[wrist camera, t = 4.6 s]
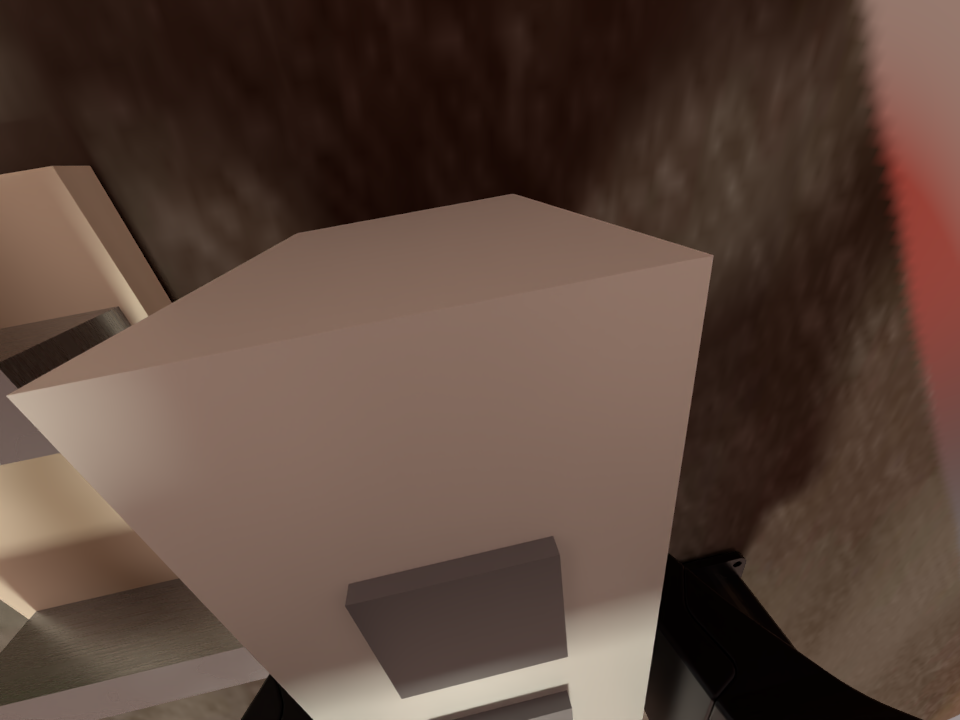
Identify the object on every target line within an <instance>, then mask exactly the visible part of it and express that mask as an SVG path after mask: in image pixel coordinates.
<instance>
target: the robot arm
mask: <svg viewBox="0 0 960 720" xmlns="http://www.w3.org/2000/svg"><path fill="white" fill-rule="evenodd" d="M745 564H746V559H745V558H744V557H743V556H742V554H741V553H740V552H738V551H735V552H730V553H726V554H722V555H718V556H714V557H710V558H706V559H702V560H698V561H694V562H690V563H686V564H681V563H680V562H679V561H678V560H676V559H675V558H674V557H673V556H672V555H670V554H669V553H668V556H667V562H666V569H665V575H664V582H663V588H662V595H661V601H660V608H659V614H658V621H657V627H656V634H655V640H654V647H653V653H652V660H651V666H650V673H649V679H648V686H647V692H646V699H645V705H644V710H645V712H646V714H647V716H648V718H649V720H922V719H920V718H917V717H915V716H912V715H910V714H907V713H905V712H902V711H900V710H897V709H895V708H892V707H890V706H888V705H885V704H883V703H881V702H879V701H877V700H875V699H872V698H870V697H868V696H866V695H865V694H863V693H861V692H859V691H857V690H855V689H854V688H852V687H850V686H849V685H847V684H845V683H844V682H842V681H840V680H839V679H837V678H836V677H834V676H833V675H831V674H830V673H828V672H827V671H825V670H824V669H823V668H821V667H820V666H818V665H817V664H816V663H814V662H813V661H811V660H810V659H808V658H807V657H806V656H804V655H803V654H801V653H800V652H798V651H797V650H796V648H795V647H794V646H793V645H792V643H791V642H790V641H789V639H788V638H787V637H786V636H785V634H784V633H783V632H782V630H781V629H780V628H779V627H778V625H777V624H776V623H775V621H774V620H773V619H772V617H771V616H770V615H769V614H768V612H767V611H766V610H765V608H764V607H763V606H762V605H761V603H760V602H759V601H758V599H757V598H756V597H755V596H754V594H753V593H752V592H751V590H750V589H749V588H748V587H747V585H746V584H745V583H744V581H743V580H742V579H741V576H742V573H743V570H744V567H745ZM241 720H313V719H312V718H311V717H310V716H309V715H308V714H307V712H306V711H305V710H304V709H303V708H302V707H301V706H300V705H299V704H298V703H297V702H296V701H295V700H294V699H293V698H292V697H291V696H290V695H289V694H288V692H287V691H286V690H285V689H284V688H283V687H282V686H281V685H280V684H279V683H278V682H277V681H276V680H275V679H274V678H273V677H272V676H271V675H270V674H269V675H268V677H267V679H266V680H265V682H264V684H263V685H262V687H261V688H260V690H259V692H258V693H257V695H256V696H255V698H254V700H253V701H252V703H251V704H250V706H249V707H248V709H247V711H246V712H245V714H244V715H243V717H242V718H241Z"/></svg>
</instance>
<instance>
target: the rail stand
mask: <svg viewBox="0 0 960 720" xmlns="http://www.w3.org/2000/svg"><path fill="white" fill-rule="evenodd" d="M171 303H172V302H171V301H170V299H169V297H168V296H167V294H166V292H165V291H164V289H163V287H162V286H161V284H160V282H159V281H158V279H157V277H156V276H155V274H154V272H153V271H152V269H151V267H150V265H149V264H148V262H147V260H146V259H145V257H144V255H143V254H142V252H141V250H140V249H139V247H138V245H137V244H136V242H135V240H134V239H133V237H132V235H131V234H130V232H129V230H128V229H127V227H126V225H125V224H124V222H123V220H122V218H121V217H120V215H119V213H118V212H117V210H116V208H115V207H114V205H113V203H112V202H111V200H110V198H109V197H108V195H107V193H106V192H105V190H104V188H103V187H102V185H101V183H100V182H99V180H98V178H97V177H96V175H95V173H94V171H93V170H92V168H91V166H48V167H42V168H37V169H31V170H25V171H19V172H13V173H7V174H1V175H0V599H1V600H2V601H3V602H5V603H6V604H8V605H9V606H11V607H12V608H13V609H15V610H16V611H18V612H19V613H21V614H22V615H23V616H25V617H26V618H28V619H29V620H28V621H27V623H26V624H25V625H24V626H23V627H22V628H21V630H20V631H19V632H18V633H17V634H16V635H15V637H14V638H13V639H12V640H11V641H10V642H9V644H8V645H7V646H6V647H5V648H4V649H3V651H2V652H1V653H0V720H98V719H102V718H106V717H110V716H114V715H118V714H122V713H126V712H130V711H134V710H138V709H142V708H146V707H150V706H154V705H158V704H162V703H166V702H170V701H175V700H179V699H183V698H187V697H191V696H195V695H199V694H203V693H207V692H211V691H215V690H219V689H223V688H227V687H231V686H235V685H239V684H243V683H247V682H251V681H255V680H259V679H264V678H267V677H268V675H269V674H270V673H269V672H268V671H267V670H266V669H265V668H264V667H263V666H262V665H261V664H260V663H259V662H258V661H257V660H256V659H255V658H254V657H253V656H252V655H251V653H250V652H249V651H248V650H247V649H246V648H245V647H244V646H243V645H242V644H241V643H240V642H239V641H238V640H237V639H236V638H235V637H234V636H233V634H232V633H231V632H230V631H229V630H228V629H227V628H226V627H225V626H224V625H223V624H222V623H221V622H220V621H219V620H218V619H217V618H216V617H215V616H214V614H213V613H212V612H211V611H210V610H209V609H208V608H207V607H206V606H205V605H204V604H203V603H202V602H201V601H200V600H199V599H198V598H197V597H196V595H195V594H194V593H193V592H192V591H191V590H190V589H189V588H188V587H187V586H186V585H185V584H184V583H183V582H182V581H181V580H180V579H179V578H178V577H177V575H176V574H175V573H174V572H173V571H172V570H171V569H170V568H169V567H168V566H167V565H166V564H165V563H164V562H163V561H162V560H161V559H160V558H159V556H158V555H157V554H156V553H155V552H154V551H153V550H152V549H151V548H150V547H149V546H148V545H147V544H146V543H145V542H144V541H143V540H142V539H141V538H140V536H139V535H138V534H137V533H136V532H135V531H134V530H133V529H132V528H131V527H130V526H129V525H128V524H127V523H126V522H125V521H124V520H123V519H122V517H121V516H120V515H119V514H118V513H117V512H116V511H115V510H114V509H113V508H112V507H111V506H110V505H109V504H108V503H107V502H106V501H105V500H104V499H103V497H102V496H101V495H100V494H99V493H98V492H97V491H96V490H95V489H94V488H93V487H92V486H91V485H90V484H89V483H88V482H87V481H86V480H85V478H84V477H83V476H82V475H81V474H80V473H79V472H78V471H77V470H76V469H75V468H74V467H73V466H72V465H71V464H70V463H69V462H68V461H67V460H66V458H65V457H64V456H63V455H62V454H61V453H60V452H59V451H58V450H57V449H56V448H55V447H54V446H53V445H52V444H51V443H50V442H49V441H48V439H47V438H46V437H45V436H44V435H43V434H42V433H41V432H40V431H39V430H38V429H37V428H36V427H35V426H34V425H33V424H32V423H31V422H30V420H29V419H28V418H27V417H26V416H25V415H24V414H23V413H22V412H21V411H20V410H19V409H18V408H17V407H16V406H15V405H14V404H13V403H12V402H11V400H10V399H9V398H8V397H7V396H6V395H8V394H10V393H12V392H14V391H15V390H17V389H19V388H21V387H23V386H24V385H26V384H28V383H30V382H32V381H33V380H35V379H37V378H39V377H41V376H42V375H44V374H46V373H48V372H49V371H51V370H53V369H55V368H57V367H58V366H60V365H62V364H64V363H66V362H67V361H69V360H71V359H73V358H75V357H76V356H78V355H80V354H82V353H84V352H85V351H87V350H89V349H91V348H92V347H94V346H96V345H98V344H100V343H101V342H103V341H105V340H107V339H109V338H110V337H112V336H114V335H116V334H118V333H119V332H121V331H123V330H125V329H127V328H128V327H130V326H132V325H134V324H135V323H137V322H139V321H141V320H143V319H144V318H146V317H148V316H150V315H152V314H153V313H155V312H157V311H159V310H161V309H162V308H164V307H166V306H168V305H170V304H171Z"/></svg>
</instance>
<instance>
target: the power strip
mask: <svg viewBox="0 0 960 720" xmlns="http://www.w3.org/2000/svg"><path fill="white" fill-rule="evenodd" d="M713 256H714V255H711V254H708V253H705V252H701V251H698V250H695V249H692V248H688V247H685V246H682V245H679V244H675V243H672V242H669V241H666V240H662V239H659V238H656V237H653V236H649V235H646V234H643V233H640V232H636V231H633V230H630V229H627V228H623V227H620V226H617V225H614V224H610V223H607V222H604V221H601V220H597V219H594V218H591V217H588V216H584V215H581V214H578V213H575V212H571V211H568V210H565V209H562V208H558V207H555V206H552V205H549V204H545V203H542V202H539V201H536V200H532V199H529V198H526V197H523V196H519V195H516V194H508V195H503V196H497V197H492V198H487V199H481V200H476V201H470V202H465V203H459V204H454V205H448V206H443V207H438V208H432V209H427V210H421V211H416V212H410V213H405V214H399V215H394V216H389V217H383V218H378V219H372V220H367V221H361V222H356V223H350V224H345V225H340V226H334V227H329V228H323V229H318V230H312V231H307V232H301V233H297V234H295V235H293V236H291V237H290V238H288V239H286V240H284V241H282V242H281V243H279V244H277V245H275V246H273V247H272V248H270V249H268V250H266V251H264V252H263V253H261V254H259V255H257V256H256V257H254V258H252V259H250V260H248V261H247V262H245V263H243V264H241V265H239V266H238V267H236V268H234V269H232V270H230V271H229V272H227V273H225V274H223V275H221V276H220V277H218V278H216V279H214V280H213V281H211V282H209V283H207V284H205V285H204V286H202V287H200V288H198V289H196V290H195V291H193V292H191V293H189V294H187V295H186V296H184V297H182V298H180V299H178V300H177V301H175V302H173V303H171V304H170V305H168V306H166V307H164V308H162V309H161V310H159V311H157V312H155V313H153V314H152V315H150V316H148V317H146V318H144V319H143V320H141V321H139V322H137V323H135V324H134V325H132V326H130V327H128V328H127V329H125V330H123V331H121V332H119V333H118V334H116V335H114V336H112V337H110V338H109V339H107V340H105V341H103V342H101V343H100V344H98V345H96V346H94V347H92V348H91V349H89V350H87V351H85V352H84V353H82V354H80V355H78V356H76V357H75V358H73V359H71V360H69V361H67V362H66V363H64V364H62V365H60V366H58V367H57V368H55V369H53V370H51V371H49V372H48V373H46V374H44V375H42V376H41V377H39V378H37V379H35V380H33V381H32V382H30V383H28V384H26V385H24V386H23V387H21V388H19V389H17V390H15V391H14V392H12V393H10V394H8V395H6V396H7V397H8V398H9V399H10V400H11V402H12V403H13V404H14V405H15V406H16V407H17V408H18V409H19V410H20V411H21V412H22V413H23V414H24V415H25V416H26V417H27V418H28V419H29V420H30V422H31V423H32V424H33V425H34V426H35V427H36V428H37V429H38V430H39V431H40V432H41V433H42V434H43V435H44V436H45V437H46V438H47V439H48V441H49V442H50V443H51V444H52V445H53V446H54V447H55V448H56V449H57V450H58V451H59V452H60V453H61V454H62V455H63V456H64V457H65V458H66V460H67V461H68V462H69V463H70V464H71V465H72V466H73V467H74V468H75V469H76V470H77V471H78V472H79V473H80V474H81V475H82V476H83V477H84V478H85V480H86V481H87V482H88V483H89V484H90V485H91V486H92V487H93V488H94V489H95V490H96V491H97V492H98V493H99V494H100V495H101V496H102V497H103V499H104V500H105V501H106V502H107V503H108V504H109V505H110V506H111V507H112V508H113V509H114V510H115V511H116V512H117V513H118V514H119V515H120V516H121V517H122V519H123V520H124V521H125V522H126V523H127V524H128V525H129V526H130V527H131V528H132V529H133V530H134V531H135V532H136V533H137V534H138V535H139V536H140V538H141V539H142V540H143V541H144V542H145V543H146V544H147V545H148V546H149V547H150V548H151V549H152V550H153V551H154V552H155V553H156V554H157V555H158V556H159V558H160V559H161V560H162V561H163V562H164V563H165V564H166V565H167V566H168V567H169V568H170V569H171V570H172V571H173V572H174V573H175V574H176V575H177V577H178V578H179V579H180V580H181V581H182V582H183V583H184V584H185V585H186V586H187V587H188V588H189V589H190V590H191V591H192V592H193V593H194V594H195V595H196V597H197V598H198V599H199V600H200V601H201V602H202V603H203V604H204V605H205V606H206V607H207V608H208V609H209V610H210V611H211V612H212V613H213V614H214V616H215V617H216V618H217V619H218V620H219V621H220V622H221V623H222V624H223V625H224V626H225V627H226V628H227V629H228V630H229V631H230V632H231V633H232V634H233V636H234V637H235V638H236V639H237V640H238V641H239V642H240V643H241V644H242V645H243V646H244V647H245V648H246V649H247V650H248V651H249V652H250V653H251V655H252V656H253V657H254V658H255V659H256V660H257V661H258V662H259V663H260V664H261V665H262V666H263V667H264V668H265V669H266V670H267V671H268V672H269V673H270V675H271V676H272V677H273V678H274V679H275V680H276V681H277V682H278V683H279V684H280V685H281V686H282V687H283V688H284V689H285V690H286V691H287V692H288V694H289V695H290V696H291V697H292V698H293V699H294V700H295V701H296V702H297V703H298V704H299V705H300V706H301V707H302V708H303V709H304V710H305V711H306V712H307V714H308V715H309V716H310V717H311V718H312V719H313V720H642V718H643V712H644V705H645V699H646V692H647V686H648V679H649V673H650V666H651V660H652V653H653V647H654V640H655V634H656V627H657V621H658V614H659V608H660V601H661V595H662V588H663V582H664V575H665V569H666V562H667V556H668V549H669V543H670V536H671V530H672V523H673V517H674V510H675V504H676V497H677V491H678V484H679V478H680V471H681V465H682V458H683V452H684V445H685V439H686V432H687V426H688V419H689V413H690V406H691V400H692V393H693V387H694V380H695V374H696V367H697V361H698V354H699V348H700V341H701V334H702V328H703V321H704V315H705V308H706V302H707V295H708V289H709V282H710V276H711V269H712V263H713Z"/></svg>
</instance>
